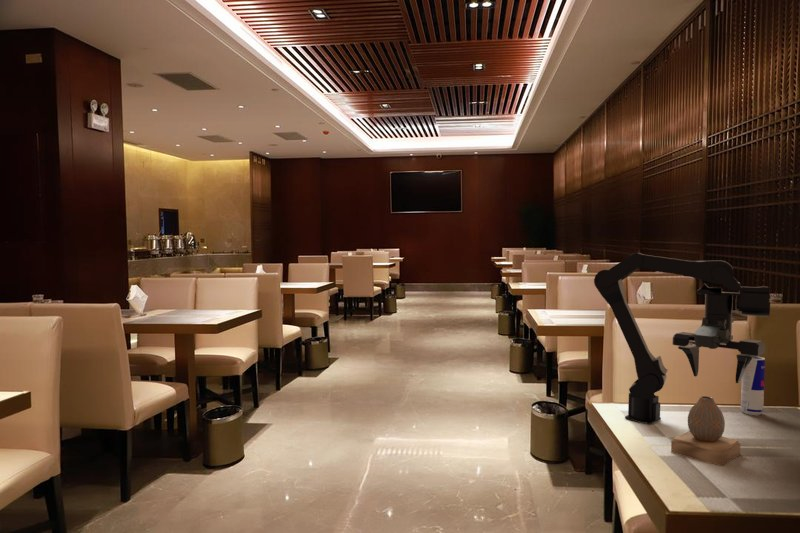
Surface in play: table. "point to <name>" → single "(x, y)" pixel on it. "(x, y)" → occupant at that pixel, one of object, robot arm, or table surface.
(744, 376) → the beverage can
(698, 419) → the vase
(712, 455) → the plinth
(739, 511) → the table surface
